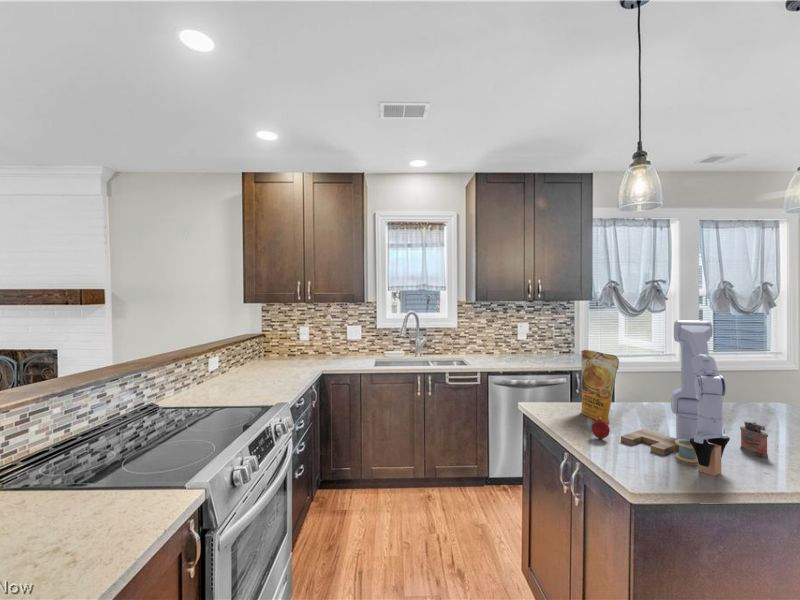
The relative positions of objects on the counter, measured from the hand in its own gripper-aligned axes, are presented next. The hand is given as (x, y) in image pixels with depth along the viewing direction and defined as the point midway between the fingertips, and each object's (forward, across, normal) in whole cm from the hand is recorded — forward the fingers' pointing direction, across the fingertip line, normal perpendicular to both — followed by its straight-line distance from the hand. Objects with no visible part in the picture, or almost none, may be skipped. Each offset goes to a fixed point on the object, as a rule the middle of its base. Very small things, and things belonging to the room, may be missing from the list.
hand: (709, 462), depth 113 cm
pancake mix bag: (+3, +19, +48) cm, 52 cm away
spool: (+3, +5, +8) cm, 10 cm away
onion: (+3, -3, +32) cm, 32 cm away
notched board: (+3, +8, +20) cm, 22 cm away
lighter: (+3, +28, -1) cm, 28 cm away
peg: (+3, 0, 0) cm, 3 cm away
